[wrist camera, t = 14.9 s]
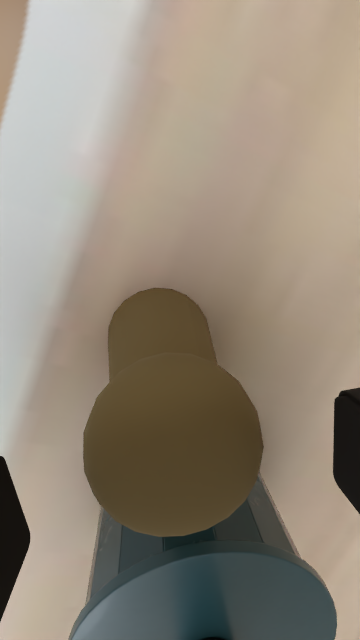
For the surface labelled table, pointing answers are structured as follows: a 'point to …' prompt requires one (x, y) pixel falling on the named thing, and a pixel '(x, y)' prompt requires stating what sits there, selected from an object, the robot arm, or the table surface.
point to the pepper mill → (169, 423)
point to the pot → (185, 537)
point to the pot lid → (212, 597)
